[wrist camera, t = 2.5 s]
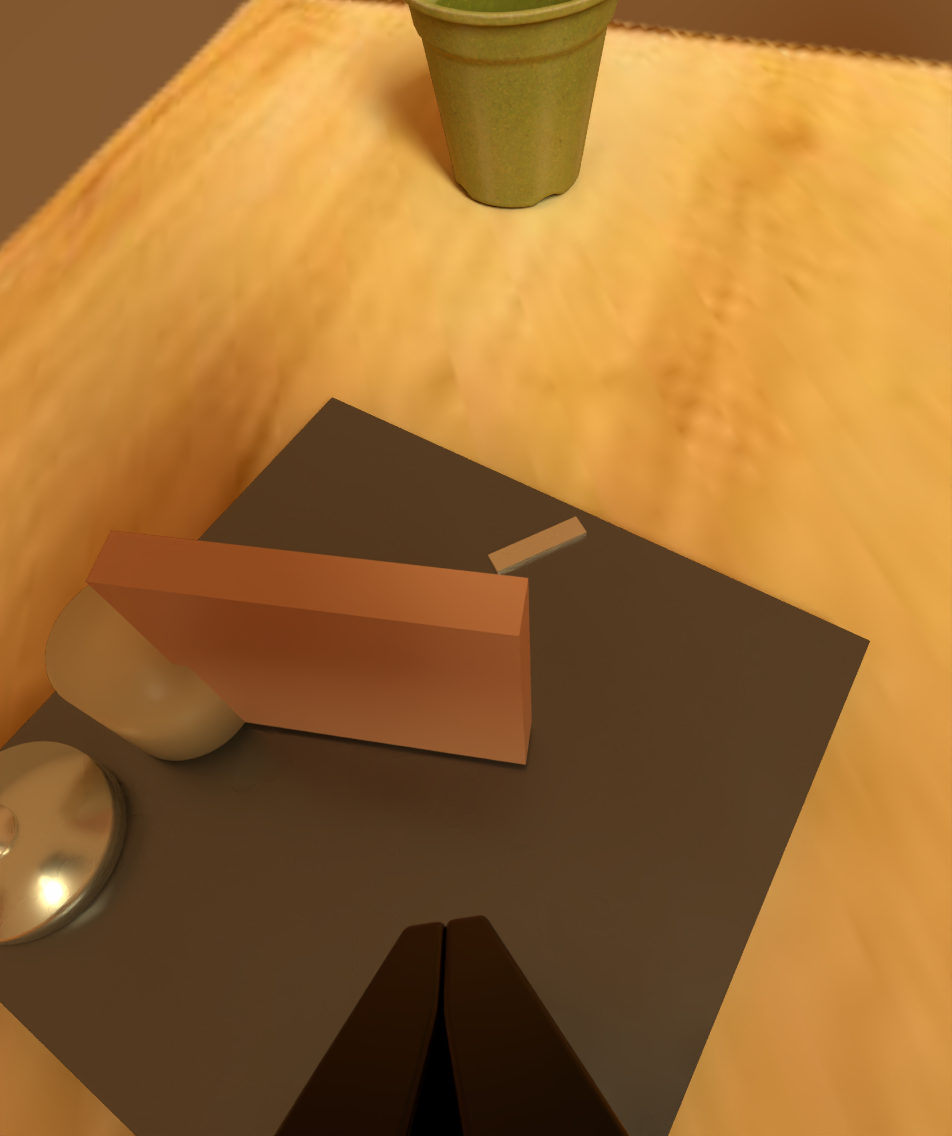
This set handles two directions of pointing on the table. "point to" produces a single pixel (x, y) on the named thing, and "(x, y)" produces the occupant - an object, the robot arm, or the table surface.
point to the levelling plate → (423, 813)
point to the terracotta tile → (293, 649)
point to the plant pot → (514, 90)
